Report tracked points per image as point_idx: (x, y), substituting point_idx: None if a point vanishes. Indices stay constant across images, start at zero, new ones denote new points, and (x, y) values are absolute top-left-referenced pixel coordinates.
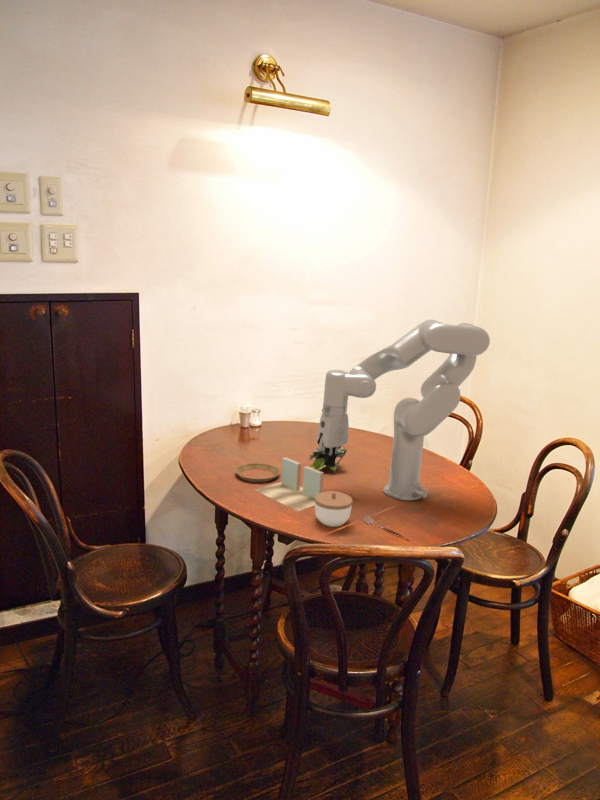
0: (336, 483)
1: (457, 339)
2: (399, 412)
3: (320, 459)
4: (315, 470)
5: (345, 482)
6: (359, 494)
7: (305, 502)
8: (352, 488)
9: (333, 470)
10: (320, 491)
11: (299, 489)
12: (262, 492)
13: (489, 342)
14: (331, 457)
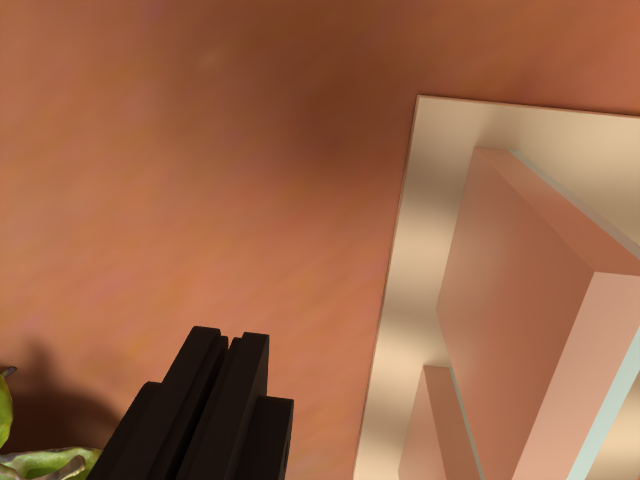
0: (97, 276)
1: None
2: None
3: None
4: (590, 390)
5: (22, 245)
6: (83, 4)
7: (612, 205)
8: (49, 136)
9: (8, 388)
10: (527, 175)
11: (424, 366)
12: (623, 473)
13: None
14: (228, 473)
